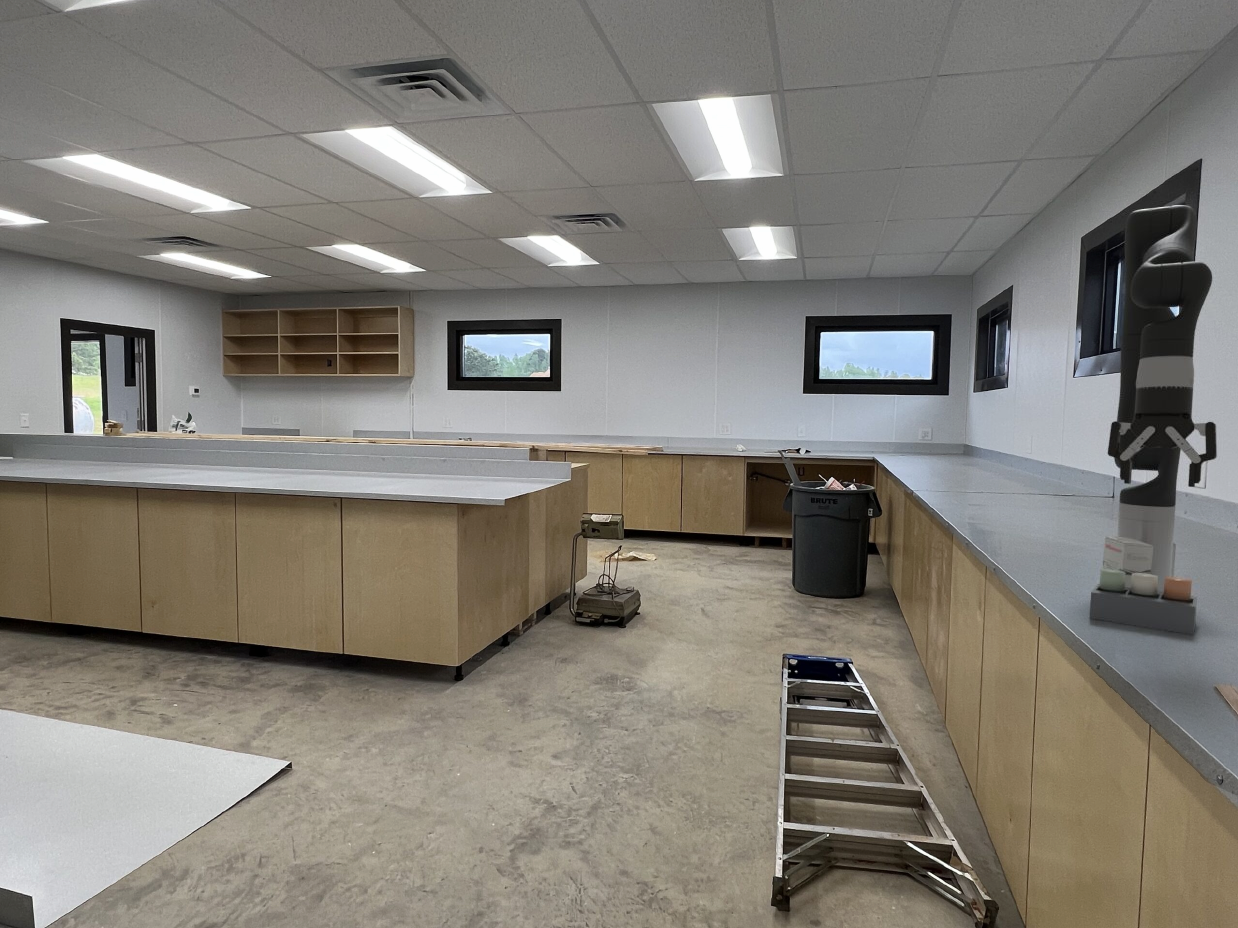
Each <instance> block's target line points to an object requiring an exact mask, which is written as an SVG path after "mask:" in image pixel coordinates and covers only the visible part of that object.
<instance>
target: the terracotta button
mask: <svg viewBox="0 0 1238 928" xmlns="http://www.w3.org/2000/svg"><path fill="white" fill-rule="evenodd" d="M1192 583H1193V581H1192V580H1191V579H1189V578H1183V577H1177V576H1176V577H1175V576H1174V577H1165V579H1164V594H1163V596H1165V597H1168V598H1172V599H1179V600H1190V599H1191V596H1192V585H1193V584H1192Z"/></svg>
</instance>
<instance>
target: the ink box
mask: <svg viewBox="0 0 1238 928" xmlns="http://www.w3.org/2000/svg"><path fill="white" fill-rule="evenodd" d="M1103 546H1104V548H1103V555H1102V556H1103V557H1102V567H1101V569H1112V570H1119V571H1123V572H1125V587H1127V588H1131V578H1132V573H1145V574H1151V566H1152V556H1153V546H1152V545H1149V544H1146V543H1143V542H1140V541H1137V540H1135V539H1132V538H1124V537H1117V536H1110V535H1109V536H1105V537H1104V545H1103Z"/></svg>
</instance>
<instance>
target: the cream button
mask: <svg viewBox="0 0 1238 928" xmlns="http://www.w3.org/2000/svg"><path fill="white" fill-rule="evenodd" d="M1157 582H1158V576H1156V575H1151V574H1145V573H1132V578H1131V592H1133V593H1137V594H1142V595H1157Z"/></svg>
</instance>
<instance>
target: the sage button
mask: <svg viewBox="0 0 1238 928" xmlns="http://www.w3.org/2000/svg"><path fill="white" fill-rule="evenodd" d="M1099 584H1100V585H1099V587H1100V588H1102V589H1106V590H1113V591H1124V588H1125V572H1123V571H1119V570H1112V569H1102V568H1101V569H1100V570H1099Z"/></svg>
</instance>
